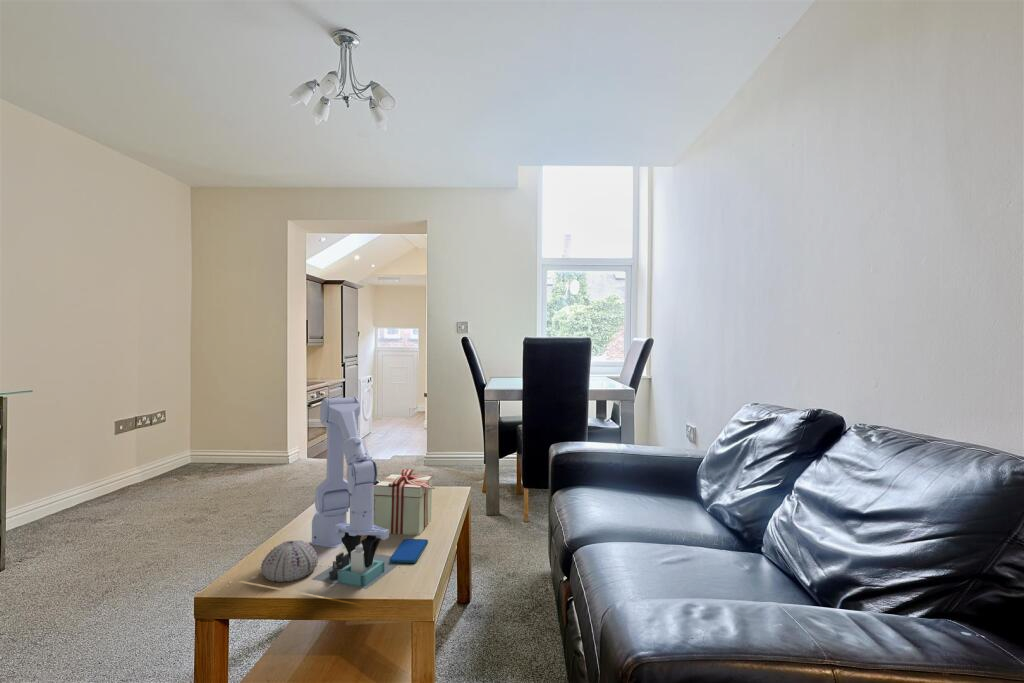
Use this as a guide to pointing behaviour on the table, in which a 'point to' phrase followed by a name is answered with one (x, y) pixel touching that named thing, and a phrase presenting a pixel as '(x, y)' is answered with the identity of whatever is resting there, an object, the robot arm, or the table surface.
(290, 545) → the sea urchin shell
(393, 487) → the gift box
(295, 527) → the table surface
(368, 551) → the robot arm
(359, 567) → the connector plug
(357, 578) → the board
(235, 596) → the table surface
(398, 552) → the smartphone
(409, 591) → the table surface
